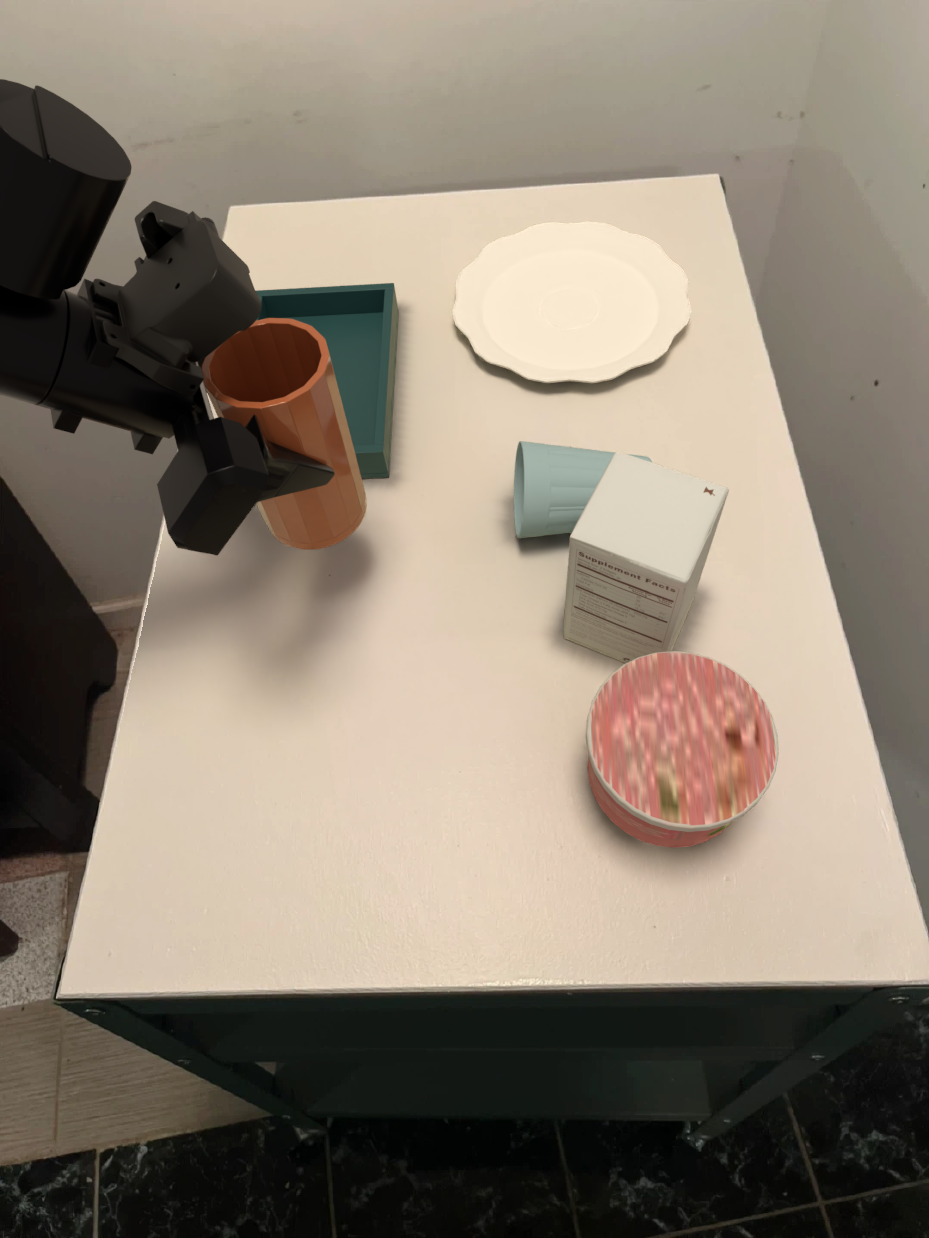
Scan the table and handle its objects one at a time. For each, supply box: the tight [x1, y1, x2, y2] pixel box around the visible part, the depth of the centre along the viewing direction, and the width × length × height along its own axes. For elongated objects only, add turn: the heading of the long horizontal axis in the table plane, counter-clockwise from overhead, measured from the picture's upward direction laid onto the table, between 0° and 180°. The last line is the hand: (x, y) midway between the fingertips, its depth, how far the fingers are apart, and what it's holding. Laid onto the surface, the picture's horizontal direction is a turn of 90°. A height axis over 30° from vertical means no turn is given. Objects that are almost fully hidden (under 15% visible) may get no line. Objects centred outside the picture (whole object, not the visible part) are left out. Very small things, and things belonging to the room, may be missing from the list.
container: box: [585, 650, 780, 849], centre depth 49 cm, size 10×10×8 cm
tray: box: [255, 282, 399, 479], centre depth 70 cm, size 20×13×3 cm, turn 0°
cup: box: [513, 440, 653, 539], centre depth 61 cm, size 7×7×10 cm
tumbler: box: [201, 318, 368, 551], centre depth 51 cm, size 7×7×13 cm
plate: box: [451, 220, 692, 384], centre depth 74 cm, size 21×21×2 cm
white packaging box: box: [562, 451, 730, 664], centre depth 53 cm, size 7×7×13 cm
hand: (314, 434), depth 51 cm, fingers closed on tumbler, 7 cm apart
